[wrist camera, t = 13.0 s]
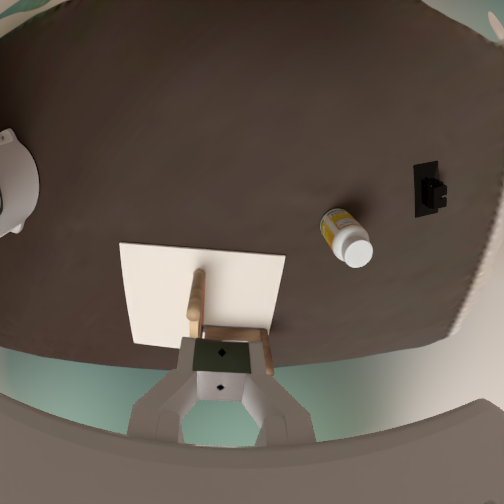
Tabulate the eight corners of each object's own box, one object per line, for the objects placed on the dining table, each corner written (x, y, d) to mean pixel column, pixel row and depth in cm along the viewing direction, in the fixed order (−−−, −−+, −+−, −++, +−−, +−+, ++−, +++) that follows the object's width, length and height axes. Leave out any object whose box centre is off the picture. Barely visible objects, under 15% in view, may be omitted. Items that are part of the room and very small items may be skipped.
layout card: (134, 341, 52) (134, 342, 51) (120, 242, 41) (119, 243, 41) (264, 351, 55) (264, 353, 54) (285, 255, 45) (285, 256, 44)
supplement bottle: (334, 201, 41) (359, 226, 32) (357, 220, 43) (385, 248, 34) (312, 228, 43) (331, 260, 34) (336, 245, 44) (358, 278, 36)
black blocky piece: (439, 217, 44) (453, 228, 40) (408, 226, 44) (422, 237, 40) (438, 151, 38) (455, 157, 34) (406, 156, 38) (421, 162, 34)
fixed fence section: (193, 331, 50) (188, 373, 42) (193, 324, 50) (187, 366, 41) (266, 335, 52) (273, 377, 43) (268, 328, 51) (275, 370, 42)
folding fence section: (194, 268, 44) (186, 310, 35) (205, 270, 44) (200, 311, 35) (193, 323, 49) (187, 366, 40) (203, 324, 49) (199, 367, 40)
